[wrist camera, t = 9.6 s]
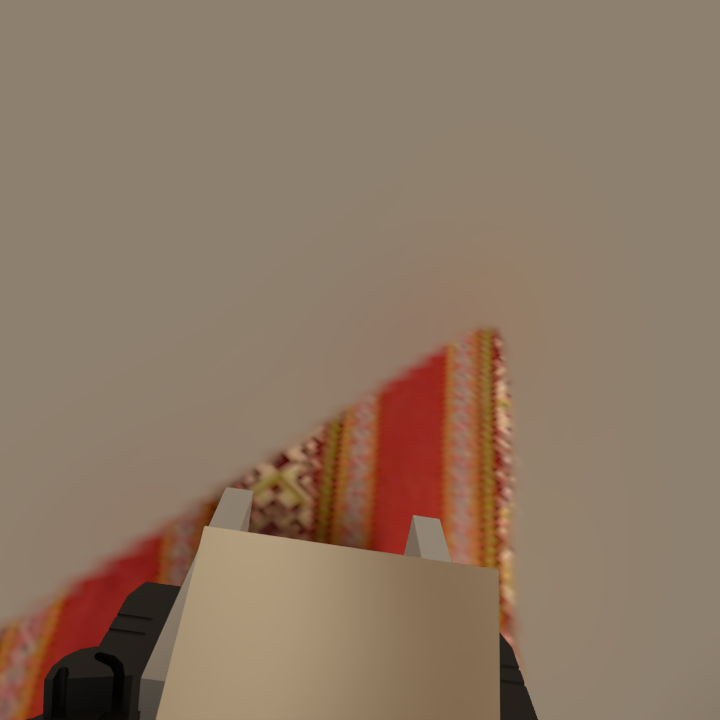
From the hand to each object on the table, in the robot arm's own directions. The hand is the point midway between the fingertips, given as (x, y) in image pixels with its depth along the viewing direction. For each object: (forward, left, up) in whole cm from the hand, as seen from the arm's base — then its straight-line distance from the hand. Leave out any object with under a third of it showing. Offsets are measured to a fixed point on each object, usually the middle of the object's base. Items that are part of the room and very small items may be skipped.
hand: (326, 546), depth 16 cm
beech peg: (0, -4, -3) cm, 5 cm away
